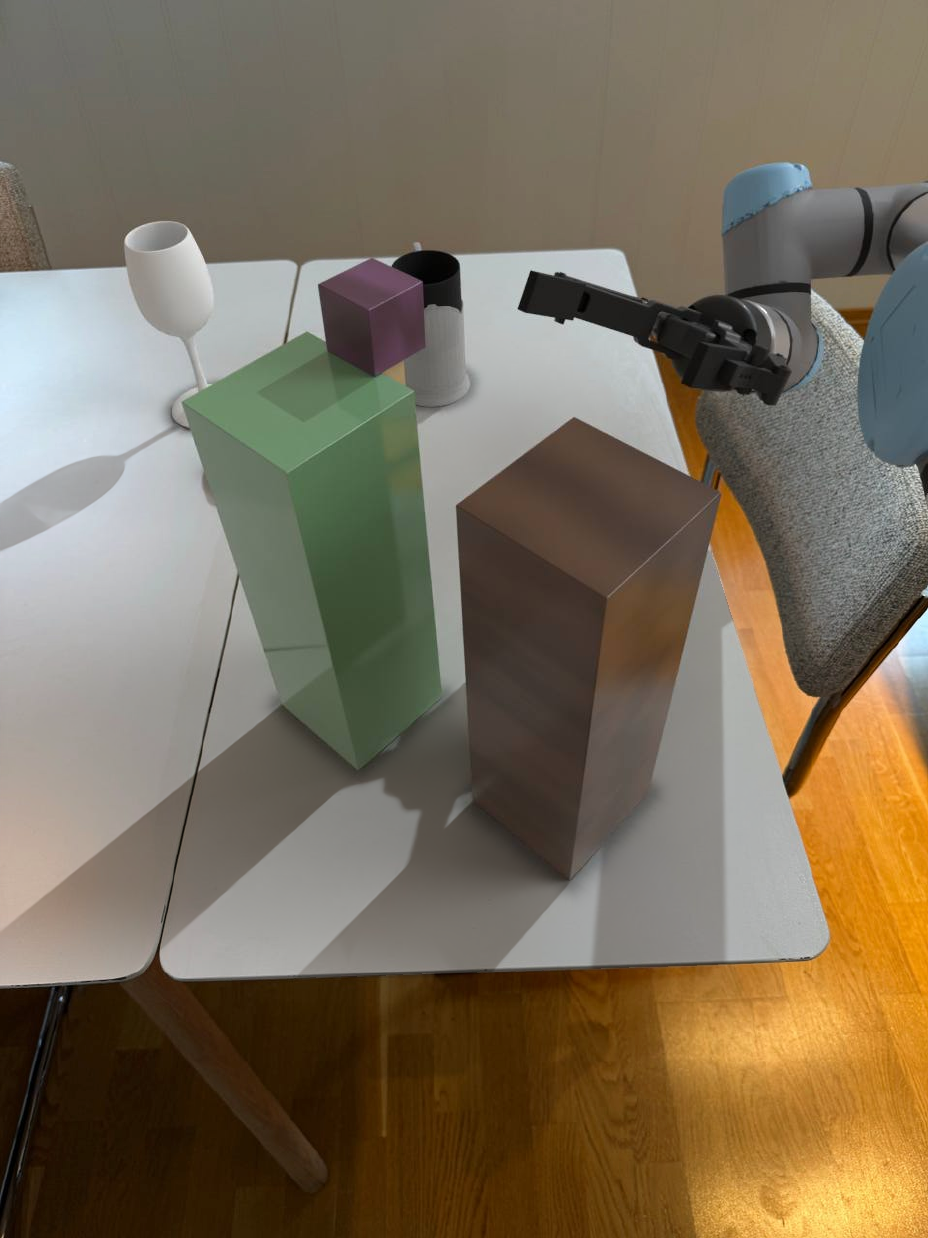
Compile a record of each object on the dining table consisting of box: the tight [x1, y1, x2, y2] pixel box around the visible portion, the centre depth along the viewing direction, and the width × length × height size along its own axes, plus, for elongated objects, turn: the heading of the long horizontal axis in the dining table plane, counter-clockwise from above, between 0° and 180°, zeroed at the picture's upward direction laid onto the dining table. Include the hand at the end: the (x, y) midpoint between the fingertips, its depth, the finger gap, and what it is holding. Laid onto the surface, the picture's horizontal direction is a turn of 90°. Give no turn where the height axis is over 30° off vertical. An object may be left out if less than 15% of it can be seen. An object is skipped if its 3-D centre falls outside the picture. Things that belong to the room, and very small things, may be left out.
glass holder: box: [390, 241, 471, 408], centre depth 104 cm, size 9×14×15 cm, turn 9°
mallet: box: [317, 257, 426, 385], centre depth 60 cm, size 16×4×4 cm
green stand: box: [181, 331, 443, 771], centre depth 66 cm, size 10×10×32 cm
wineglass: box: [123, 220, 215, 429], centre depth 99 cm, size 9×9×21 cm
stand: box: [455, 416, 723, 881], centre depth 60 cm, size 10×10×32 cm
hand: (606, 326), depth 59 cm, fingers open, 13 cm apart
